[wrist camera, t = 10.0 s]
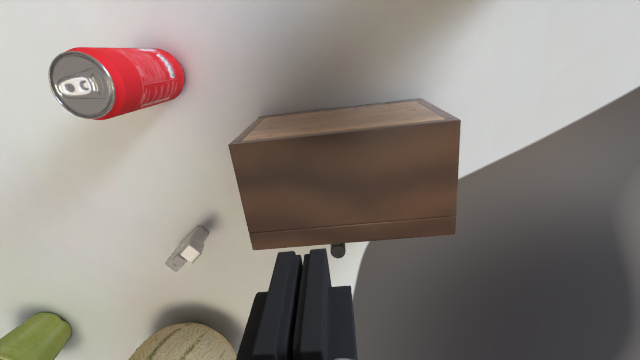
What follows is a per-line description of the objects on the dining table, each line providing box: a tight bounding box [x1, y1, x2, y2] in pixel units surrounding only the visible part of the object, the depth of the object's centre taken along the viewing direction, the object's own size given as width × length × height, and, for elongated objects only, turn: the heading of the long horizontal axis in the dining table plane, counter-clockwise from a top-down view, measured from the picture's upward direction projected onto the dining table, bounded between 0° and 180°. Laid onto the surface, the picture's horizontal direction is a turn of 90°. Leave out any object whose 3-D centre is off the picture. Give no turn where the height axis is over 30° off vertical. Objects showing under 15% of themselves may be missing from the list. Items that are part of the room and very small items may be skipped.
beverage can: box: [49, 47, 185, 120], centre depth 28 cm, size 5×5×12 cm
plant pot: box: [0, 312, 71, 360], centre depth 45 cm, size 9×9×9 cm
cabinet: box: [229, 99, 461, 250], centre depth 31 cm, size 10×18×11 cm, turn 97°
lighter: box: [165, 226, 209, 271], centre depth 37 cm, size 7×2×8 cm, turn 135°
